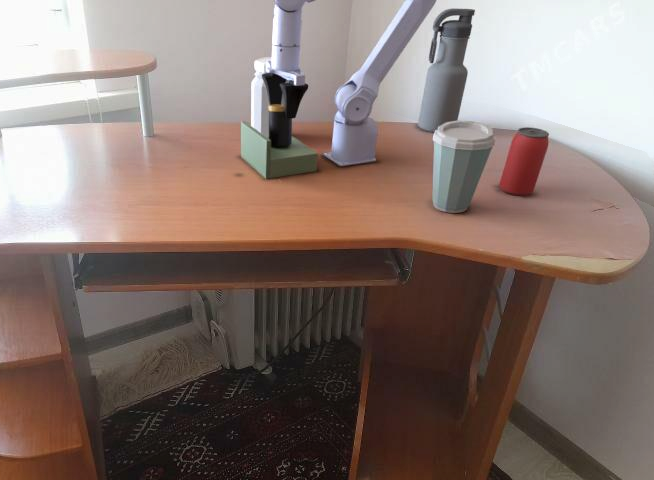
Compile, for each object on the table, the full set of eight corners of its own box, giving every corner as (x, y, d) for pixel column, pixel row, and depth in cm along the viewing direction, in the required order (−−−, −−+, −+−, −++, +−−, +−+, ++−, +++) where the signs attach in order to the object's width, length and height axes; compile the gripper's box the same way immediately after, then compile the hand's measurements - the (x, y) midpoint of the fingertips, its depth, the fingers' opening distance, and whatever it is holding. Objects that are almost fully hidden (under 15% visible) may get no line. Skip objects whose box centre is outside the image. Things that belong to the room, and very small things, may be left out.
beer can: (531, 186, 112) (550, 128, 106) (533, 199, 107) (553, 139, 100) (497, 182, 114) (514, 124, 107) (498, 194, 109) (515, 134, 102)
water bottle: (417, 132, 141) (439, 11, 125) (414, 121, 149) (434, 6, 133) (457, 134, 140) (485, 12, 124) (452, 123, 148) (478, 7, 132)
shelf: (288, 150, 128) (289, 116, 124) (316, 171, 118) (319, 134, 113) (240, 156, 124) (240, 121, 120) (265, 178, 114) (266, 141, 109)
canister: (285, 141, 122) (286, 103, 118) (296, 144, 117) (297, 105, 114) (264, 143, 120) (264, 104, 117) (274, 146, 116) (274, 106, 112)
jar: (290, 144, 132) (294, 65, 122) (250, 143, 132) (251, 64, 122) (289, 132, 140) (293, 56, 130) (251, 131, 140) (252, 56, 130)
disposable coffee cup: (469, 223, 98) (490, 141, 89) (411, 209, 103) (426, 129, 94) (483, 203, 105) (504, 125, 97) (428, 190, 110) (444, 115, 101)
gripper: (254, 39, 114) (252, 105, 121) (283, 52, 103) (280, 124, 111) (284, 37, 116) (280, 103, 124) (316, 50, 105) (310, 121, 113)
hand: (282, 113), depth 117 cm, fingers open, 7 cm apart
